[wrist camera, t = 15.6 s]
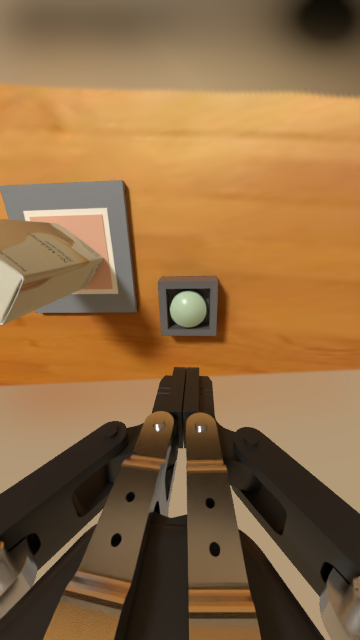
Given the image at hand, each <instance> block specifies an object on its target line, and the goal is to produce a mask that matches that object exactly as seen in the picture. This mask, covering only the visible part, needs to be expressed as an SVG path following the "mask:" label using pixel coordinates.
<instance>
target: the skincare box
mask: <svg viewBox="0 0 360 640" xmlns="http://www.w3.org/2000/svg"><path fill="white" fill-rule="evenodd" d="M102 261H103V257H102V256H100V255H99V254H98V253H97V252H95V251H94V250H93V249H92V248H90V247H89V246H88V245H87V244H85V243H84V242H83V241H81V240H80V239H79V238H77V237H76V236H75V235H73V234H72V233H70V232H69V231H68V230H66V229H65V228H63V227H62V226H61V225H59V224H57V223H46V222H32V221H20V220H7V219H0V325H4V324H6V323H8V322H10V321H12V320H15V319H17V318H19V317H21V316H23V315H26V314H28V313H30V312H32V311H34V310H37V309H39V308H41V307H43V306H45V305H48V304H50V303H52V302H54V301H56V300H59V299H61V298H63V297H65V296H67V295H70V294H72V293H74V292H76V291H79V290H81V289H83V288H85V287H87V286H88V284H89V283H90V281H91V280H92V278H93V277H94V275H95V274H96V272H97V270H98V269H99V267H100V265H101V263H102Z"/></svg>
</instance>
